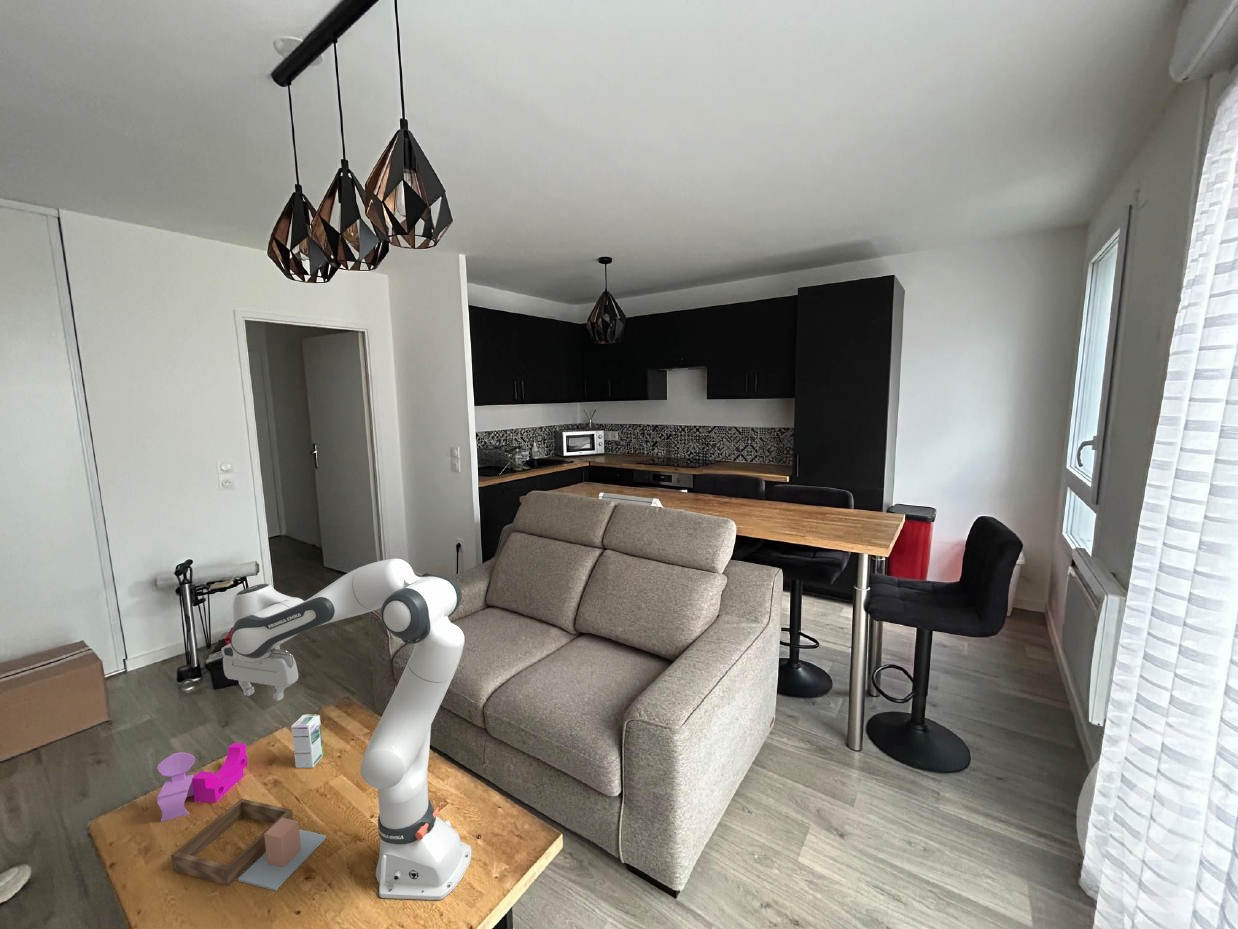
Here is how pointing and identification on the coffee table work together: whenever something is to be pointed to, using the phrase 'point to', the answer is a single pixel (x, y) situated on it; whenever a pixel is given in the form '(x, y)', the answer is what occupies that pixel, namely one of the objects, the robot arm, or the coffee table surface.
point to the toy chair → (175, 785)
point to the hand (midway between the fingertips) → (263, 696)
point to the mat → (277, 875)
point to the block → (282, 842)
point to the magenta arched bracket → (221, 776)
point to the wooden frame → (209, 869)
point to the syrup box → (307, 741)
